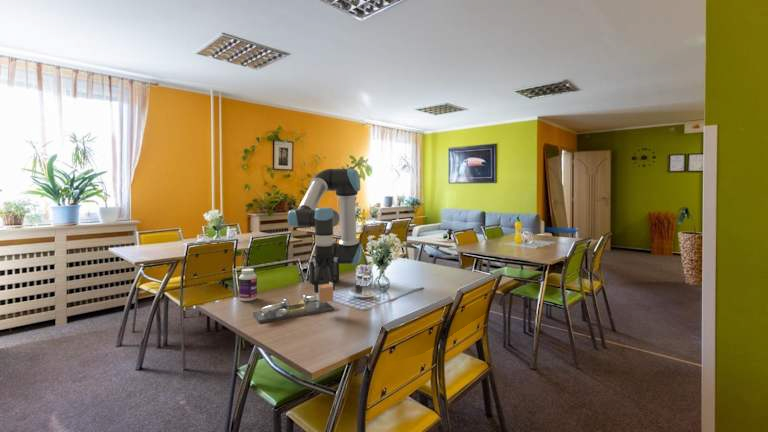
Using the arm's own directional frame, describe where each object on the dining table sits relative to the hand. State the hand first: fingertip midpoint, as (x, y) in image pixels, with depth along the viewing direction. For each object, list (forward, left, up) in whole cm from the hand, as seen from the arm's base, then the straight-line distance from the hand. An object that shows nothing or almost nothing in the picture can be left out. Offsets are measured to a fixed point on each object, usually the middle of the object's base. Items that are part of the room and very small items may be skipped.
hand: (324, 298), depth 156 cm
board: (+10, -9, -7) cm, 15 cm away
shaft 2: (+1, -9, -6) cm, 11 cm away
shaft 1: (+20, -6, -6) cm, 21 cm away
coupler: (0, 0, 0) cm, 0 cm away
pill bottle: (+23, -38, -7) cm, 45 cm away
